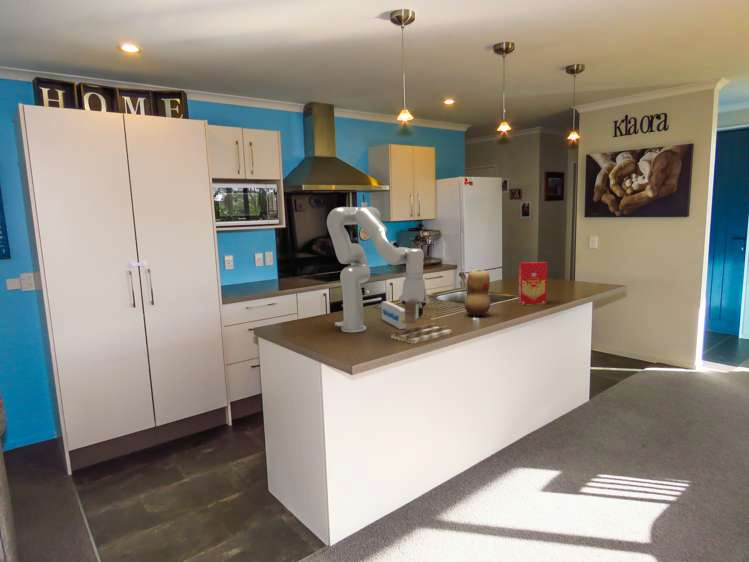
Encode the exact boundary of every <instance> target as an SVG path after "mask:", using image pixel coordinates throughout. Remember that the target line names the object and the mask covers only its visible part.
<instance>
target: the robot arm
mask: <svg viewBox="0 0 749 562" xmlns="http://www.w3.org/2000/svg"><path fill="white" fill-rule="evenodd" d="M349 225H359V226H360V227H361V228H362V230H363V231H364V232H365V233H366V234H367V235H368V236H369V237H370V239H371V240H372V243H373V245H374V248H375V250H376V252H377V254H378V255H379V256H380V258H382V259H383V261H385V263H387V264H388V265H391V266H398V265H404V264H405V265H406V266H405V267H406V268H405V269H406V270H405V272H402V273H403V274H402V275H403V277H405V278H404V279H403V284H402V294H401V295H400V296H399V297H398V301H400V302H401V303H402V304H403V306H404V307H405V302H407V301H416V302H418V303H419V314H418V316H419V317H420V316H422V314H423V315H424V310H423V309H424V307H425V306H426V305H427V304H429V303H430V302H431V300H430V298H429V296H428V294H427V290H426V282H425V279H424V251H423V249H422V248H418V247H417V248H415V247H413V248H409V247H404V246H399V247H394V246H393V245H392V244H391V243H390V242H389V240H388V239H387V236H386V234H387V231H388V228H387V226H385V224H384V223H383V222H382V221H381V213H380V210H379V209H378V208H376V207H374V206H361V207H360V206H340V207H335V208H333V209H331V211H330V212H329V213H328V215H327V218H326V226H327V230H328V233H329V236H330V238H331V241H332V244H333V245H332V246H333V249H334V252H335V255H336V258H337V260H338V262H339V263H340V264H342V265H346V264H347V265H348V266H346V267H344V268H343V269H342V270H341V272H340V275H339V277H340V278H339V279H340V283H341V284H340V285H341V289H342V304H343V305H342V306H343V307H342V308H343V320H341V321H335V322H334V326H335V327H341V328H340V330H341V332H344V333H351V334H352V333H354V334H355V333H363V332H365V331H367V326H366V325H364V306H363V305H364V302H363V292H362V287H361V285H360V284H363V283H366V282H368V281H369V280H370V277H371V268H370V265H369V262H368V259H367V256H366V253H365V252H366V251H365V250H364V248H363V247H362V245H360V244H359V243H356V242H355V243H354V242H353V243H352V241H351V239H350V234H349V233H348V231H347V229H346V228H345V226H349ZM349 264H350V265H349Z"/></svg>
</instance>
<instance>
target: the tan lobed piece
mask: <svg viewBox="0 0 749 562" xmlns="http://www.w3.org/2000/svg"><path fill="white" fill-rule="evenodd" d="M490 278H491V277H490V273H489V272H488V271H486V270H484V269H481V268H479V269H472V270H470V271H469V273H468V275H467V281H466V288H467V289H466V290H467V294H466V297H465V300H464V309H465V311H466V313H468V314H469V316H470V315H471V316H472V315H476V316H477V317H478V316H483V315H485V314H486V313H487V312H488V311H489V310H490V308H491V299H490V296H489V290H490Z"/></svg>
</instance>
